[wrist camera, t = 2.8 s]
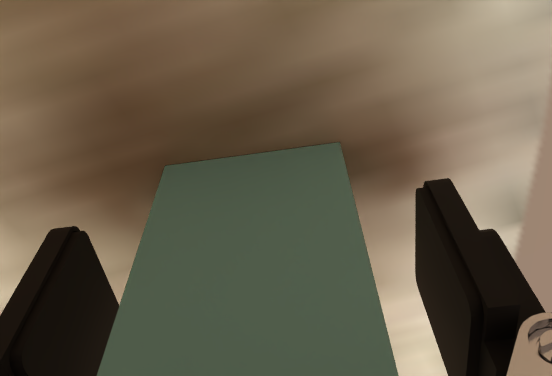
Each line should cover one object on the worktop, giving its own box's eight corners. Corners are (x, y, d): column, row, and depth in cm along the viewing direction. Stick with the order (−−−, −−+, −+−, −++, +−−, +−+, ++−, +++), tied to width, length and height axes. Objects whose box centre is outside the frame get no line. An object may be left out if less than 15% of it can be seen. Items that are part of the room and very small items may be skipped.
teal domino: (164, 165, 15) (27, 587, 6) (339, 142, 14) (443, 553, 6) (182, 221, 16) (85, 643, 7) (344, 200, 15) (438, 616, 7)
